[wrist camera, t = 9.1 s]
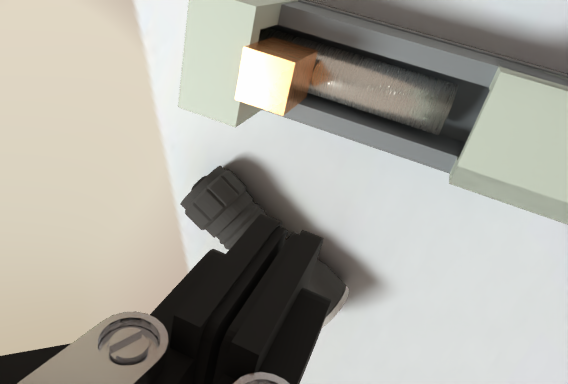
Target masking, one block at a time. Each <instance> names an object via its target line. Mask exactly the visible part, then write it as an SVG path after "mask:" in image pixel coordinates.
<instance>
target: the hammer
mask: <svg viewBox="0 0 568 384" xmlns="http://www.w3.org/2000/svg"><path fill="white" fill-rule="evenodd" d="M457 89H458V85H457V84H454V83H451V82H447V81H444V80H441V79H437V78H434V77H431V76H427V75H424V74H421V73H417V72H414V71H411V70H407V69H404V68H401V67H397V66H394V65H391V64H387V63H384V62H381V61H377V60H374V59H371V58H367V57H364V56H361V55H357V54H354V53H351V52H347V51H344V50H341V49H337V48H334V47H331V46H327V45H324V44H321V43H317V42H314V41H311V40H307V39H304V38H301V37H297V36H294V35H291V34H287V33H284V32H281V31H277V30H274V29H271V28H263V29H260V34H259V40H258V42H256V43H253V44H250V45H247V46H244V48H243V54H242V60H241V66H240V72H239V78H238V84H237V90H236V96H235V100H238V101H241V102H244V103H247V104H250V105H253V106H256V107H259V108H262V109H265V110H267V111H270V112H273V113H276V114H279V115H282V116H284V115H285V114H286V113H288V112H289V111H290V110H291V109H293V108H294V107H295V106H296V105H298V104H299V103H300V102H301V101H303V100H304V99H305V98H306V97H307V93H310V94H313V95H316V96H319V97H323V98H326V99H329V100H332V101H335V102H338V103H341V104H344V105H347V106H350V107H353V108H356V109H359V110H363V111H366V112H369V113H372V114H375V115H378V116H381V117H384V118H387V119H390V120H393V121H396V122H399V123H402V124H406V125H409V126H412V127H415V128H418V129H421V130H424V131H427V132H430V133H433V134H436V135H439V133H440V132H441V130H442V128H443V125H444V123H445V121H446V119H447V116H448V114H449V112H450V109H451V106H452V104H453V101H454V98H455V96H456V93H457Z"/></svg>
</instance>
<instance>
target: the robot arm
mask: <svg viewBox="0 0 568 384" xmlns="http://www.w3.org/2000/svg"><path fill="white" fill-rule="evenodd" d="M281 225H282V222H281V221H279V220H277V219H274V218H272V217H269V216H267V215H264V214H260V215H259V216H258V217H257V218H256V219H255V221H254V222H253V223H252V224H251V225H250V226H249V228H248V229H247V230H246V231H245V232H244V233H243V235H242V236H241V237H240V238H239V239H238V240H237V242H236V243H235V244H234V245H233V246H232V247H231V249H230V250H229V251H228V252H227V253H226V254H224V253H222V252H220V251H217V250H215V249H212V250H210V251H209V252H208V253H207V254H206V255H205V256H204V257H203V258H202V259H201V260H200V261H199V262H198V263H197V264H196V266H195V267H194V268H193V269H192V270H191V271H190V272H189V273H188V274H187V275H186V276H185V277H184V279H183V280H182V281H181V282H180V283H179V284H178V285H177V286H176V287H175V288H174V289H173V290H172V292H171V293H170V294H169V295H168V296H167V297H166V298H165V299H164V300H163V301H162V302H161V303H160V304H159V306H158V307H157V308H156V309H155V310H154V311H153V312H152V313H151V314H150V315H148V314H146V313H140V312H123V313H119V314H116V315H112V316H110V317H109V318H107V319H105V320H103V321H102V322H100V323H99V324H98V325H96V326H95V327H93V328H92V329H91V330H89V331H88V332H87V333H85V334H84V335H82V336H81V337H80V338H79V339H77V340H76V341H74V342H73V343H71V344H66V345H60V346H54V347H49V348H43V349H38V350H32V351H27V352H20V353H15V354H9V355H4V356H0V384H299V383H300V381H301V378H302V376H303V374H304V371H305V369H306V366H307V364H308V361H309V359H310V356H311V354H312V351H313V349H314V346H315V344H316V341H317V339H318V336H319V334H320V331H321V328H322V326H323V323H324V321H325V318H326V315H327V313H328V310H329V307H330V305H331V302H332V300H331V299H329V298H327V297H324V296H322V295H320V294H317V293H315V292H313V291H310V290H308V289H307V288H308V285H309V282H310V279H311V276H312V273H313V270H314V267H315V264H316V261H317V258H318V255H319V252H320V249H321V246H322V242H323V238H322V237H319V236H317V235H314V234H312V233H309V232H307V231H304V230H302V232H301V233H300V235H299V234H296V233H294V232H293V233H292V234H291V235H290V237H289V238H288V240H287V241H286V243H285V244H284V242H285V238H286V235H287V230H286V229H284V228H281ZM283 245H284V246H283Z"/></svg>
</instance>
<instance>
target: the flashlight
mask: <svg viewBox="0 0 568 384" xmlns="http://www.w3.org/2000/svg"><path fill="white" fill-rule="evenodd" d="M245 190H246V186H245V185H244V184H243V183H242V182H241V181H240V180H239V179H238V178H237V177H236V176H235V175H234V174H233V173H232V172H231V171H230V170H227V171H226V170H225V169H224V168H223V167H222V166H219V167H217V168H216V169H214V170H213V171H212V172H211V173H210V174H209V175H207V176H204V177H202V178H201V179H200V180H199V181H198V182H197V183H196V184H195V185H194V186H193V187H192V191H191V192H190V193H189V194H188V195H187V196H186V197H185V198H184V200H183V201H182V202H181V205H182V206H183V207H184V208H185V209H186V210H185V214H186V215H187V216H188V217H189V218H190V219H191V220H192V221H193V222H194V223H195V224H196V225H197V226H198V227H199V228H200V229H201V230H205V229H206V230H207V231H208V232H209V233H210V234H211V235H212V236H213V237H215V236H216V237H217V238H218V239H219V240H220V243H221V244H224V247H225V248H226V249H229V250H230V249H231V247H232V246H233V245H234V244H235V243H236V242H237V240H238V239H239V238H240V237H241V236H242V235H243V233H244V232H245V231H246V230H247V229H248V228H249V226H250V225H251V224H252V223H253V222H254V221H255V219H256V218H257V217H258V216H259V215H260V214H264V215H266V214H265V211H264V210H263V209H260V206H259V205H258V204H255V203H254V202H253V201H252V200H253V198H252V197H251V196H250V195H249V194H248V193H247V192H246V191H245ZM287 240H288V239H285V242H284V244H285V243H286V241H287ZM283 246H284V245H283ZM307 289H308V290H310V291H313V292H315V293H317V294H320V295H322V296H324V297H327V298H329V299H331V300H332V302H331V305H330V307H329V310H328V313H327V315H326V318H325V321H324V323H323V326H322V328H323V327H324V326H325V325H326V324H327V323H328V322H330V321H331V320H332V319H333V317H334V316H335V315H336V314H337V313H338V312H339V310H340V309H341V308H342V306H343V305H344V303H345V301H346V300H347V298H348V295H349V288H348V287H347V286H346V285H345V284H344V283H343V282H342V281H341V280H340V279H339V278H338V277H337V276H336V275H335V274H334V273H333V272H332V271H331V270H330V269H329V268H328V267H327V266H326V265H325V264H324V263H322V262H321V261H319V260H317V261H316V264H315V267H314V270H313V273H312V276H311V279H310V282H309V285H308V288H307Z"/></svg>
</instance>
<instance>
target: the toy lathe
mask: <svg viewBox="0 0 568 384" xmlns="http://www.w3.org/2000/svg"><path fill="white" fill-rule="evenodd" d="M263 28H271V29H274V30H277V31H281V32H284V33H287V34H291V35H294V36H297V37H301V38H304V39H307V40H311V41H314V42H317V43H321V44H324V45H327V46H331V47H334V48H337V49H341V50H344V51H347V52H351V53H354V54H357V55H361V56H364V57H367V58H371V59H374V60H377V61H381V62H384V63H387V64H391V65H394V66H397V67H401V68H404V69H407V70H411V71H414V72H417V73H421V74H424V75H427V76H431V77H434V78H437V79H441V80H444V81H447V82H451V83H454V84H457V85H458V89H457V93H456V96H455V98H454V101H453V104H452V106H451V109H450V112H449V114H448V116H447V119H446V121H445V123H444V125H443V128H442V130H441V132H440V133H439V135H436V134H433V133H430V132H427V131H424V130H421V129H418V128H415V127H412V126H409V125H406V124H402V123H399V122H396V121H393V120H390V119H387V118H384V117H381V116H378V115H375V114H372V113H369V112H366V111H363V110H359V109H356V108H353V107H350V106H347V105H344V104H341V103H338V102H335V101H332V100H329V99H326V98H323V97H319V96H316V95H313V94H310V93H307V97H306V98H305V99H304V100H303V101H301V102H300V103H299V104H298V105H296V106H295V107H294V108H293V109H291V110H290V111H289V112H288V113H286V114H285V115H284V116H282V115H280V116H282V117H285V118H288V119H291V120H294V121H297V122H300V123H303V124H306V125H309V126H312V127H315V128H318V129H321V130H324V131H326V132H329V133H332V134H335V135H338V136H341V137H344V138H347V139H350V140H353V141H356V142H359V143H362V144H365V145H368V146H370V147H373V148H376V149H379V150H382V151H385V152H388V153H391V154H394V155H397V156H400V157H403V158H406V159H409V160H412V161H415V162H417V163H420V164H423V165H426V166H429V167H432V168H435V169H438V170H441V171H444V172H447V173H450V177H449V184H452V185H454V186H457V187H460V188H463V189H466V190H469V191H472V192H475V193H478V194H481V195H483V196H486V197H489V198H492V199H495V200H498V201H501V202H504V203H507V204H509V205H512V206H515V207H518V208H521V209H524V210H527V211H530V212H533V213H536V214H538V215H541V216H544V217H547V218H550V219H553V220H556V221H559V222H562V223H565V224H567V225H568V74H566V73H563V72H559V71H555V70H552V69H548V68H545V67H541V66H538V65H534V64H531V63H527V62H524V61H520V60H516V59H513V58H509V57H506V56H502V55H499V54H495V53H492V52H488V51H485V50H481V49H477V48H474V47H470V46H467V45H463V44H460V43H456V42H453V41H449V40H446V39H442V38H438V37H435V36H431V35H428V34H424V33H421V32H417V31H414V30H410V29H407V28H403V27H399V26H396V25H392V24H389V23H385V22H382V21H378V20H375V19H371V18H368V17H364V16H360V15H357V14H353V13H350V12H346V11H343V10H339V9H336V8H332V7H329V6H325V5H321V4H318V3H314V2H311V1H307V0H189V3H188V13H187V23H186V33H185V42H184V52H183V62H182V72H181V82H180V92H179V102H178V107H179V108H182V109H185V110H187V111H190V112H193V113H196V114H199V115H202V116H204V117H207V118H210V119H213V120H216V121H219V122H221V123H224V124H227V125H230V126H233V127H237V126H238V125H240V124H241V123H243V122H244V121H246V120H247V119H249V118H250V117H252V116H253V115H255V114H256V113H257V112H259V111H260V110H265V109H262V108H259V107H256V106H253V105H250V104H247V103H244V102H241V101H238V100H235V96H236V90H237V84H238V78H239V72H240V66H241V60H242V54H243V48H244V46H247V45H250V44H253V43H256V42H258V40H259V34H260V29H263ZM265 111H267V110H265ZM268 112H270V111H268ZM271 113H273V112H271ZM274 114H276V113H274ZM277 115H279V114H277Z"/></svg>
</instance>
